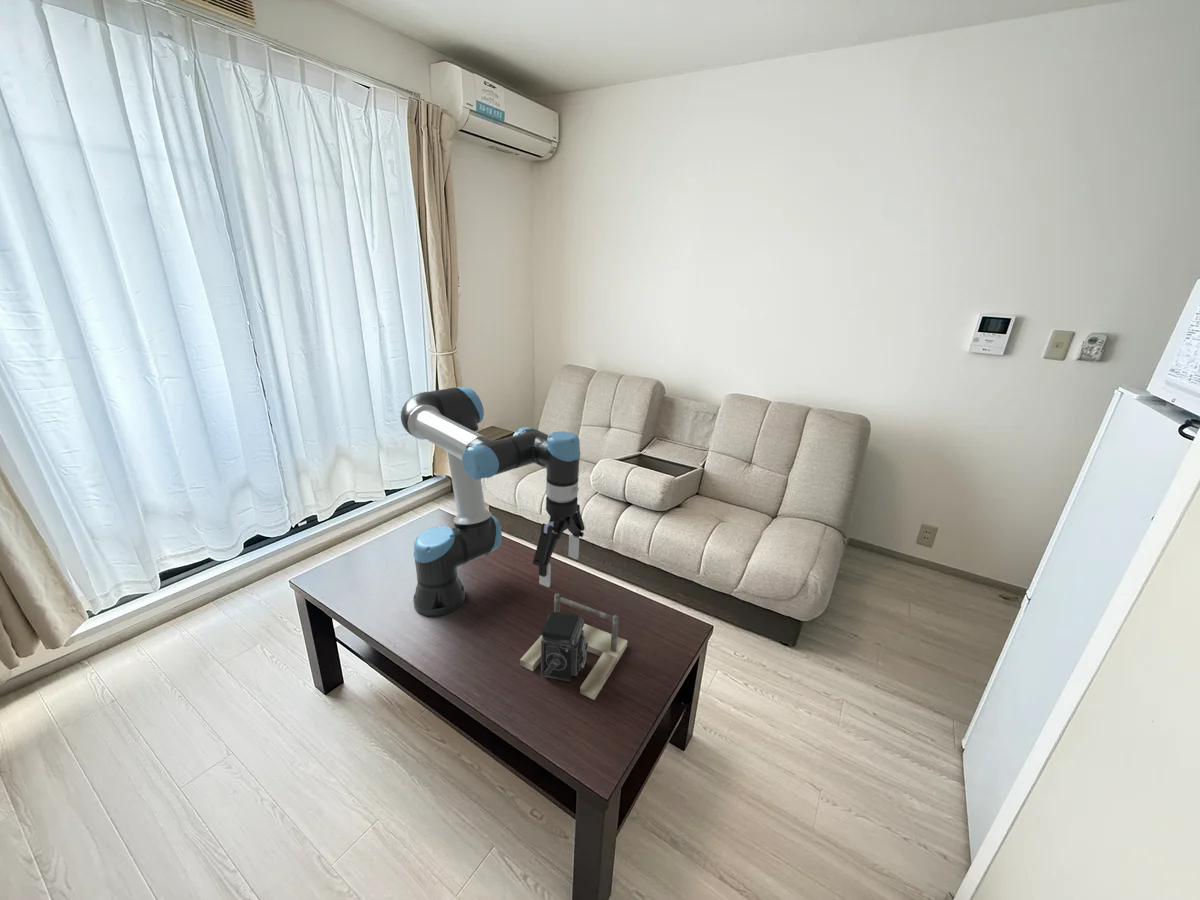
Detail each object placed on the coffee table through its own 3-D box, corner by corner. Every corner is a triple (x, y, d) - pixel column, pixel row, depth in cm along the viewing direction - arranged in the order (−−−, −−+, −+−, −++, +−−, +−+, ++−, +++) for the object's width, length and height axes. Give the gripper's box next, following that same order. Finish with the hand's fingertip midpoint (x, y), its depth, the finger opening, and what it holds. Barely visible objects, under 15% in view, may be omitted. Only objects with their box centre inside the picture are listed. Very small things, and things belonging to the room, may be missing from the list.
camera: (579, 689, 115) (581, 642, 109) (539, 681, 117) (539, 634, 111) (589, 658, 124) (591, 613, 119) (551, 651, 126) (552, 606, 121)
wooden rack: (520, 665, 121) (519, 625, 116) (559, 619, 138) (560, 583, 133) (594, 700, 112) (596, 658, 107) (627, 646, 129) (630, 608, 124)
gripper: (545, 523, 98) (544, 603, 105) (600, 481, 119) (595, 551, 126) (517, 513, 101) (517, 592, 109) (575, 474, 122) (572, 543, 129)
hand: (559, 570), depth 117 cm, fingers open, 13 cm apart
